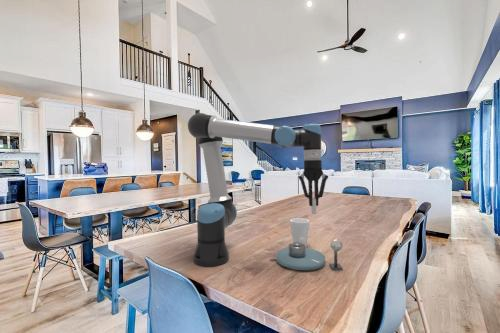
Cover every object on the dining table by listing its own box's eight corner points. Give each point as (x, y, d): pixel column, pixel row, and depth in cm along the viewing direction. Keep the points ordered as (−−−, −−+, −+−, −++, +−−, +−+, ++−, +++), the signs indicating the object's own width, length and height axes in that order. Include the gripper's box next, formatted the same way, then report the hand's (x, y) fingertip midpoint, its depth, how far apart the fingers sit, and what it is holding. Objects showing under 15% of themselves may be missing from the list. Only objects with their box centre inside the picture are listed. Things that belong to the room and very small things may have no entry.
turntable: (278, 270, 99) (278, 252, 99) (274, 251, 119) (274, 236, 119) (331, 270, 99) (331, 252, 99) (318, 251, 119) (318, 236, 119)
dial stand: (331, 270, 101) (331, 240, 100) (328, 265, 105) (328, 237, 104) (342, 270, 101) (343, 240, 100) (339, 266, 105) (339, 237, 104)
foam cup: (286, 244, 131) (286, 219, 130) (302, 242, 134) (302, 217, 134) (296, 250, 122) (296, 223, 122) (313, 248, 125) (313, 221, 125)
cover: (289, 258, 106) (289, 246, 106) (287, 252, 113) (287, 240, 113) (307, 258, 106) (307, 246, 106) (303, 252, 113) (303, 240, 113)
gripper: (298, 160, 110) (300, 215, 110) (329, 159, 109) (331, 214, 110) (296, 160, 117) (297, 211, 118) (325, 159, 117) (326, 211, 117)
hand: (313, 213), depth 114 cm, fingers closed
